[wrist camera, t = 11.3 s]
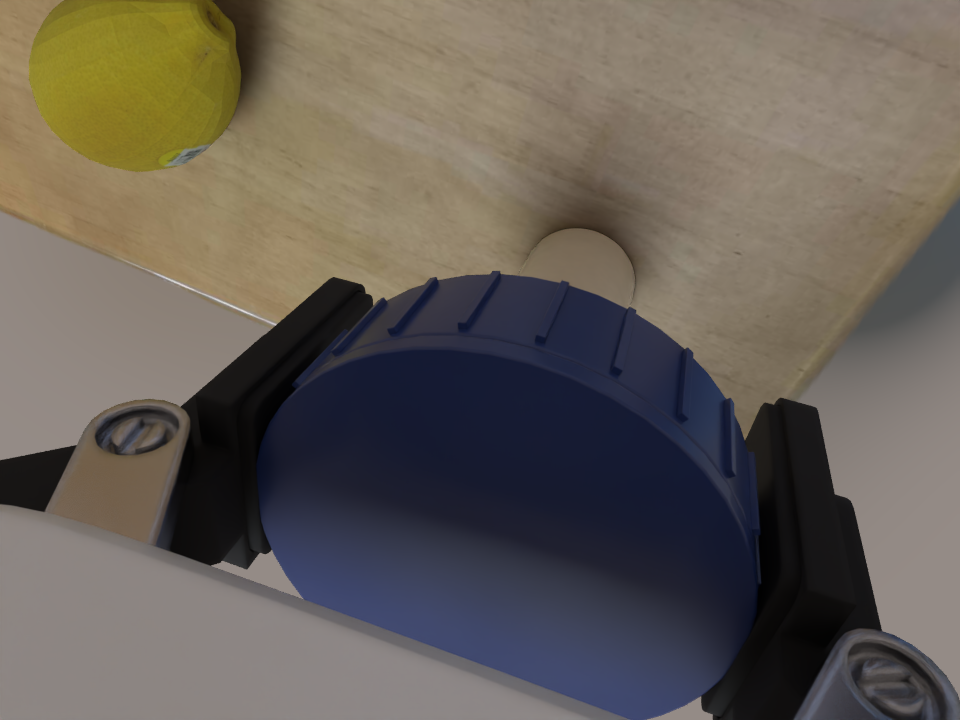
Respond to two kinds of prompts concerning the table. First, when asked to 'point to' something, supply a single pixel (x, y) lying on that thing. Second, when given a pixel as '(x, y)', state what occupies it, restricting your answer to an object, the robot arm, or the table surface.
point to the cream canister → (583, 264)
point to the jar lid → (522, 491)
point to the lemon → (136, 79)
